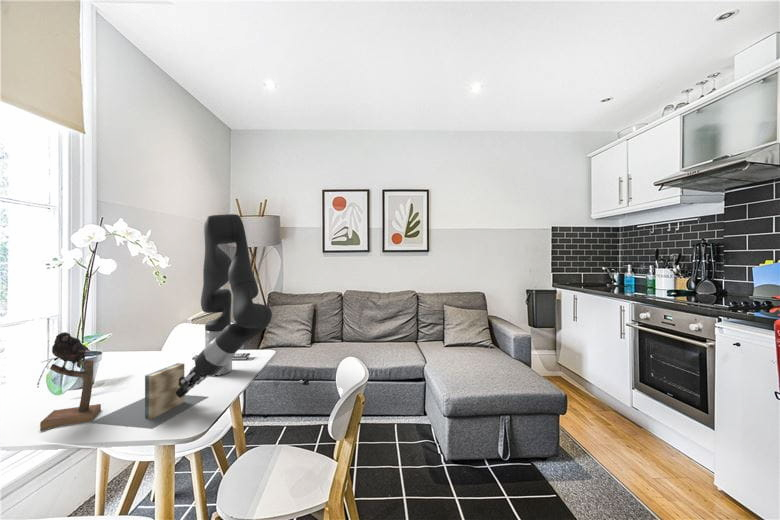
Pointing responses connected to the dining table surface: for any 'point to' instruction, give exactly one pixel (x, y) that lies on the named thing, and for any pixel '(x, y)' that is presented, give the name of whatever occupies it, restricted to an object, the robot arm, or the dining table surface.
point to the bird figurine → (72, 352)
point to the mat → (136, 414)
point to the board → (162, 390)
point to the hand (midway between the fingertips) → (179, 394)
